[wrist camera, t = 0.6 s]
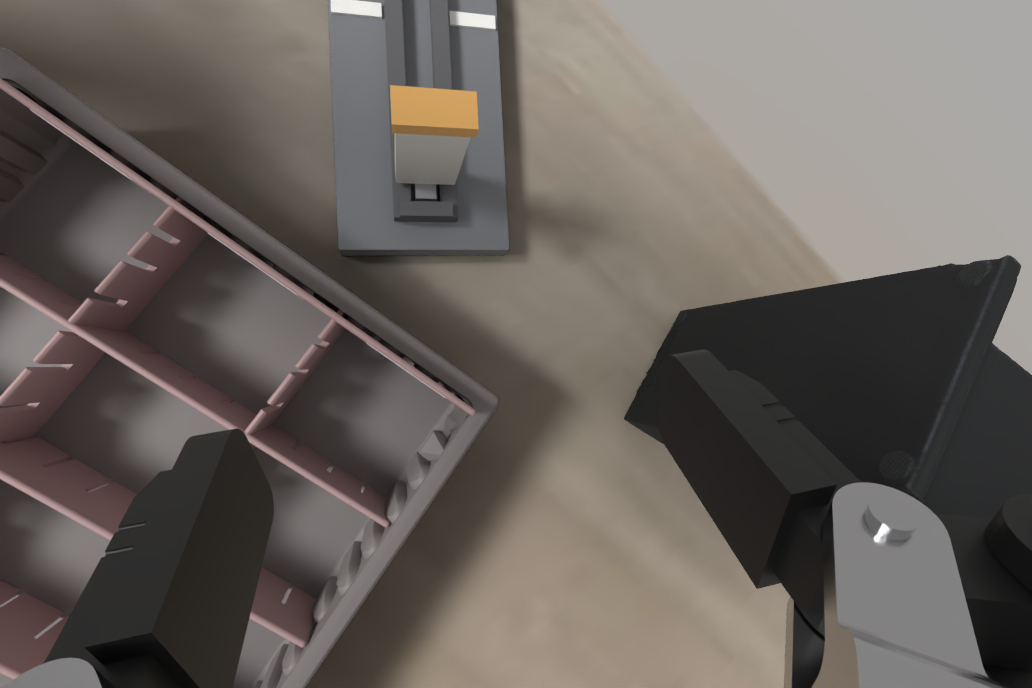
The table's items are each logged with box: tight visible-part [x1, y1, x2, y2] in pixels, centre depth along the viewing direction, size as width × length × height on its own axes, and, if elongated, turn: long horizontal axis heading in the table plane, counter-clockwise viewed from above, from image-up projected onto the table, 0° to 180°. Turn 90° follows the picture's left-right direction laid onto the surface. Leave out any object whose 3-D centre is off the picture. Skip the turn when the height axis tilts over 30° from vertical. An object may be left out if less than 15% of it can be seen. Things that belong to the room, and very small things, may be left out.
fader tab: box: [390, 85, 479, 202], centre depth 31 cm, size 4×4×10 cm
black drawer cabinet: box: [624, 255, 1032, 518], centre depth 33 cm, size 23×11×24 cm, turn 60°
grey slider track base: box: [328, 0, 509, 256], centre depth 36 cm, size 24×12×4 cm, turn 4°
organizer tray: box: [0, 48, 500, 688], centre depth 28 cm, size 32×40×10 cm
